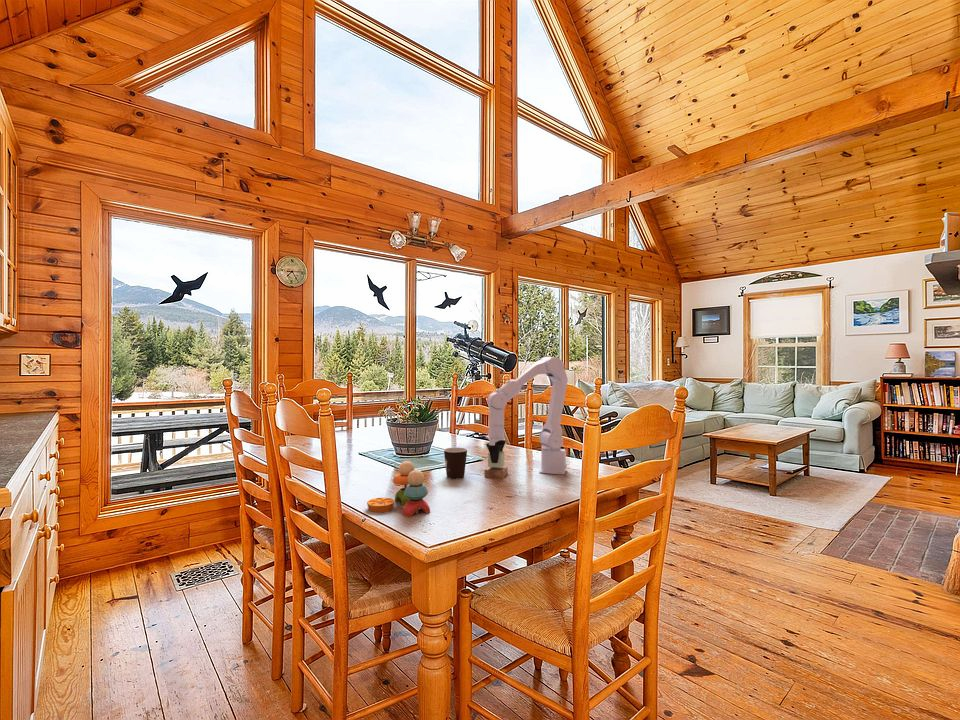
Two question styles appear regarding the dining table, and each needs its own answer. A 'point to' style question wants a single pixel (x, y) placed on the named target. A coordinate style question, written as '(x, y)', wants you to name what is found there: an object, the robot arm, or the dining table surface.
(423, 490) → the stacking toy
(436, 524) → the dining table surface
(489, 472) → the walnut block
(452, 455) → the coffee mug
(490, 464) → the green cube
